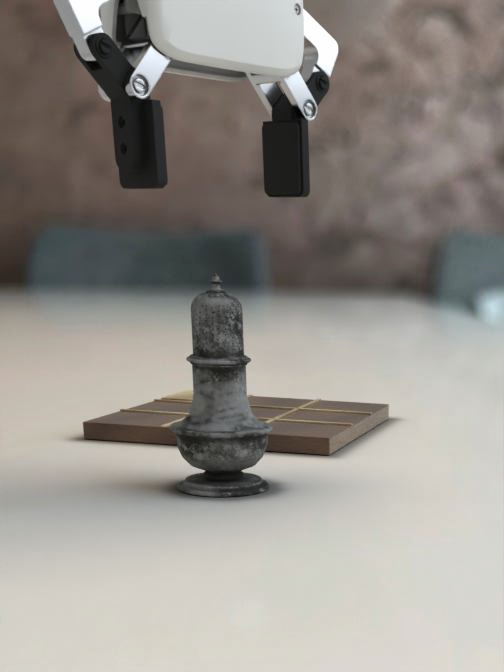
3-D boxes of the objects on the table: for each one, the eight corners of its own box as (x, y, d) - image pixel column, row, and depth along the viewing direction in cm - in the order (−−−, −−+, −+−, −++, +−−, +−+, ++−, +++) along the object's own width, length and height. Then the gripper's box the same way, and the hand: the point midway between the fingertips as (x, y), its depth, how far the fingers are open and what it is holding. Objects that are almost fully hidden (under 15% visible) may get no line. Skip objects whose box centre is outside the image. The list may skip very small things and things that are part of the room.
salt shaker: (225, 502, 62) (216, 275, 57) (150, 487, 64) (137, 270, 60) (295, 486, 66) (291, 275, 62) (222, 472, 69) (214, 270, 65)
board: (83, 438, 78) (82, 419, 78) (184, 405, 95) (184, 389, 95) (329, 455, 76) (329, 434, 76) (388, 418, 93) (389, 401, 92)
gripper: (281, -124, 63) (292, 200, 68) (-9, -224, 50) (35, 185, 56) (377, -149, 58) (380, 199, 64) (86, -265, 46) (123, 183, 51)
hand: (219, 192), depth 60 cm, fingers open, 9 cm apart
